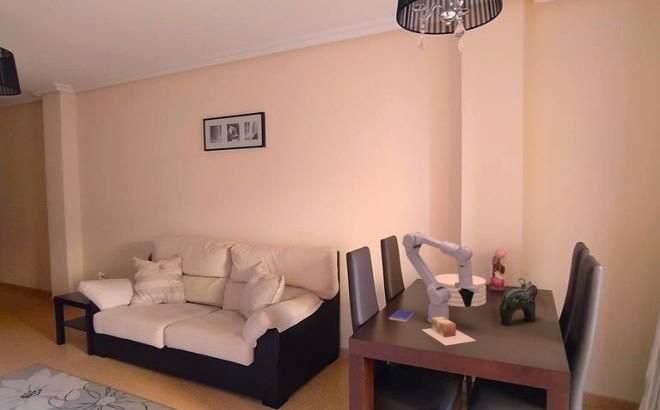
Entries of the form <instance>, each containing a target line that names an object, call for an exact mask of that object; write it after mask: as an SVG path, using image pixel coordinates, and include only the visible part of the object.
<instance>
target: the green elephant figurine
mask: <svg viewBox="0 0 660 410" xmlns="http://www.w3.org/2000/svg"><path fill="white" fill-rule="evenodd" d="M521 280H523V283H522V282H520V281H521ZM517 282H518V283H519V282H520V283H519V284H520V285H521V286H520V287H516V286H510V287H509V288H506V289H505V291H504V294H503V295H502V298H501V300H500V303H499V316H500V323H501V325H502V326H505V327H511V325H512V321H513V315H514V314H515V313H516V312H517V311H519V310H522V312H523V317H524V320H525V321H528V322H534V321H536V297H537V295H538V288H537V286H536V285H535V284H532V282H531V280H529V281H528V282H527V283H526V280H525V279H524V278H522V277H520V278H518V280H517Z"/></svg>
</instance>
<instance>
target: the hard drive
mask: <svg viewBox="0 0 660 410" xmlns="http://www.w3.org/2000/svg"><path fill="white" fill-rule="evenodd" d="M413 314H414V312H413V311H409V310H400V309H397V310H396V311H395V312H393V313H392V314H391V315H390V316H389V317H388V320H392V321H399V322H407V321H408V320H409V319H410V318H411V317H412V316H413Z"/></svg>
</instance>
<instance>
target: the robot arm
mask: <svg viewBox="0 0 660 410" xmlns="http://www.w3.org/2000/svg"><path fill="white" fill-rule="evenodd" d="M401 243H402V245H403V247H404V250H405V256H406V257H407V259H408V260H409V262H410V263H411V265H412V266H413V268H414V269H415V271H416V273H418V275H419V277H420V279H421V280H422V281H423V283H424V284H425V287H426V288H427V289H426V294H427V295H428V299H429V301H430V303H429V304H428V307H427V308H428V309H427V310H428V312H427V314H428V317H427V319H426V321H427V322H429V323H430V324H432V318H434V317H441V316H442V317H444V318H446V319H447V320H449V318H450V317H449V314H450V313H449V307H450V306H449V305H448V300H450V298H451V293H450V291H449V290H448V289H447V288H445V287H444V285H443V284H441V283H439V282H438V281H437V280H436V278H435V277H434V276H435V275H434V274H433V273H432V271H431V269H430V268H429V267H428V265H427V264H426V262H425V261H424V259H423V258H422V256H421V255H420V254H419V253H420V250H421V248H422V246H423V245H424V244H425V245H426V246H431V247H433V248H436V249H438V250H439V251H440V252H441V253H442V254H444V255H447V256H450V257H451V258H454V259H455V260H456V265H457V274H458V277H459V282H457V283H455V287H458V288H461V290H458V292H459V293H460V295H461V297H462V299H463V302H464V305H465V307H464V308H470V307H471V302H472V298H473V295H474V293H478V292H479V288H478V287H476V286H475V284H473V279H472V275H473V268H472V257H473V255H474V254H473V250H472V249H471V248H470V247H469V246H467V245H466V246H462V245H461V244H455V243H453V242H452V241H451V240H444V241H442V240H441V241H440V240H438V239H436V238H435V237H432V236H430V235H427V234H426V233H422V232H419V231H417V232H411V233H406V234H405V235H404V236H403V238H402V242H401ZM449 321H450V320H449Z"/></svg>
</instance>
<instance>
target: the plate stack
mask: <svg viewBox="0 0 660 410" xmlns="http://www.w3.org/2000/svg"><path fill="white" fill-rule="evenodd" d="M434 277H435V278H436V280H437V281H438V282H439V283H441V284H443V285H444V287H445V288H447V289H448V290H449V291H450V293H451V298H450V300H448V306H449V307H450V306H452V307H462V308H463V307H464V308H466V307H465V305H464V302H463V299H462V297H461V295H460V293H459V292H458V290H461V288H458V287H455V283H457V282H459V277H458V273H443V274H438V275H434ZM472 279H473V284H475V286H476V287H478V288H479V292H478V293H474V295H473V298H472V302H471V307H472V306H473V307H478V306H479V307H480V306H483V305H485V304H486V303H487V289H486V288H487V285H486V283H487V280H486V279H485V278H484V277H481V276H477V275H473V274H472ZM473 307H472V308H473Z"/></svg>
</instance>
